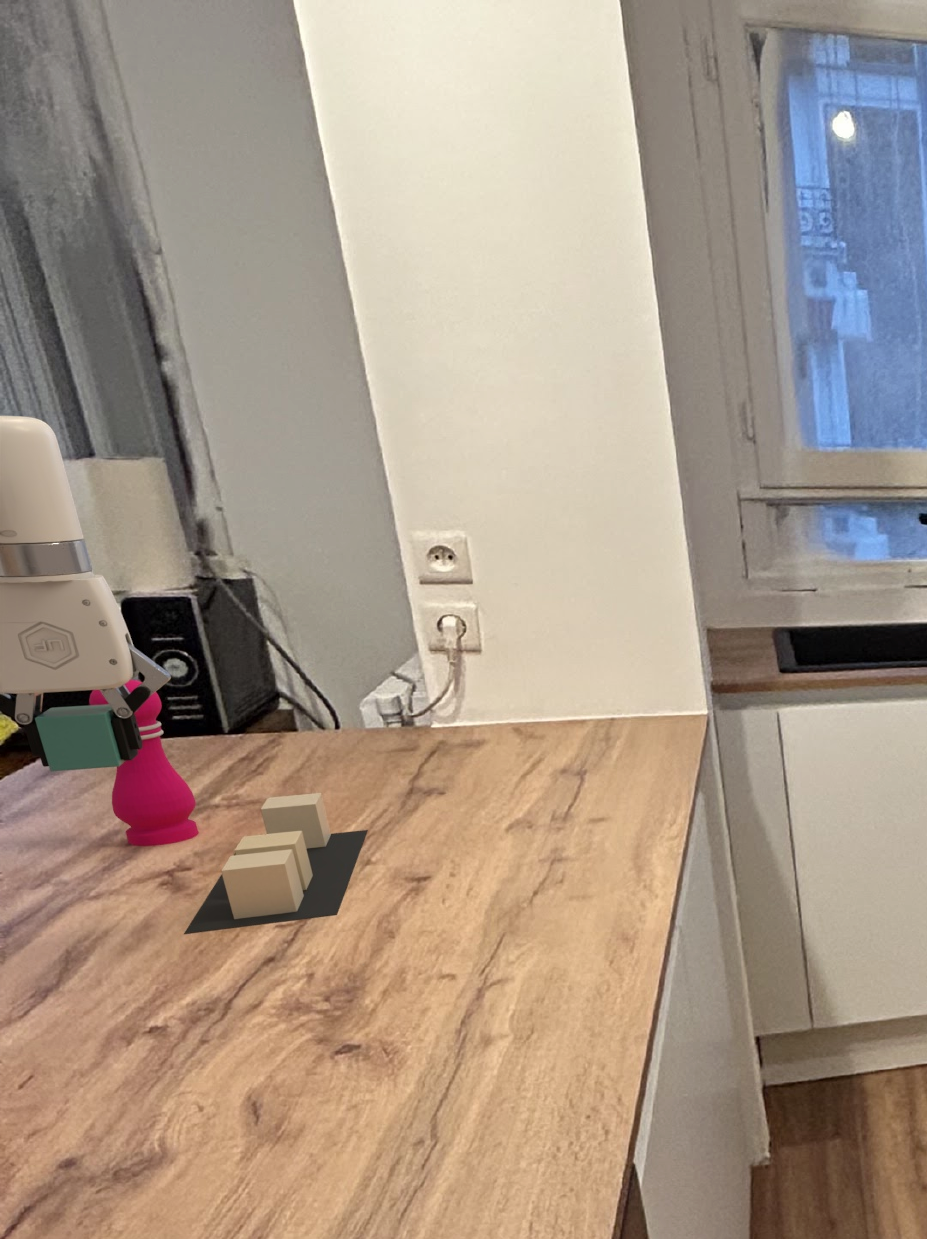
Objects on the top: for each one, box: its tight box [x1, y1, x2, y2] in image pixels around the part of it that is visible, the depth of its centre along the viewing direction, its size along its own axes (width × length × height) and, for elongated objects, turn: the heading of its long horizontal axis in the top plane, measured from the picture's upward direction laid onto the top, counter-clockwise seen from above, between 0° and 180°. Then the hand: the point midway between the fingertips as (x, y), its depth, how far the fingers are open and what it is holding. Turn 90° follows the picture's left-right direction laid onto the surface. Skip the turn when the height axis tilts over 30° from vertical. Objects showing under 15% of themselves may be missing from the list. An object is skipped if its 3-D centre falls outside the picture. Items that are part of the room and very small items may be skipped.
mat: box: [183, 829, 369, 935], centre depth 142 cm, size 12×31×1 cm, turn 28°
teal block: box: [35, 704, 125, 772], centre depth 126 cm, size 5×5×5 cm
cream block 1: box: [260, 792, 332, 849], centre depth 152 cm, size 5×5×5 cm
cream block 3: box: [220, 849, 304, 919], centre depth 133 cm, size 5×5×5 cm
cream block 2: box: [233, 831, 313, 890], centre depth 138 cm, size 5×5×5 cm
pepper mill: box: [88, 679, 199, 847], centre depth 150 cm, size 7×7×20 cm
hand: (91, 758), depth 127 cm, fingers closed on teal block, 5 cm apart
